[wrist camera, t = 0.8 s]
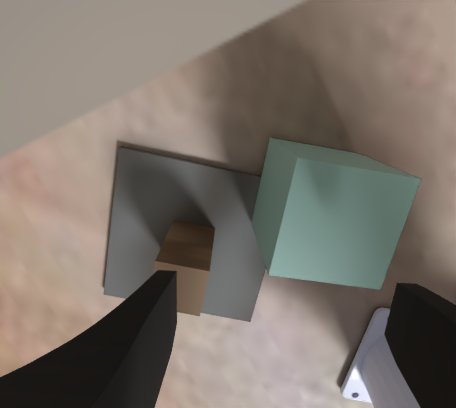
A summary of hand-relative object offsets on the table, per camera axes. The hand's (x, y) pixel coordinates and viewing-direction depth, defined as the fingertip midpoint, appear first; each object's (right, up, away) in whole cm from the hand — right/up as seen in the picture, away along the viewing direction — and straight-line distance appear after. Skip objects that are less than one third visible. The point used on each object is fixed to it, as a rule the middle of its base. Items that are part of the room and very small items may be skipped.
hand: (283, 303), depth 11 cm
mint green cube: (+3, +4, +9) cm, 10 cm away
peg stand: (-4, +1, +10) cm, 11 cm away
